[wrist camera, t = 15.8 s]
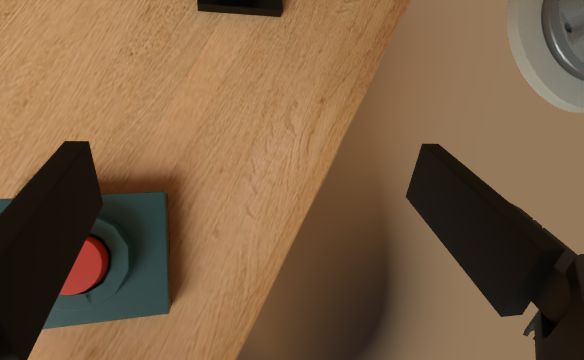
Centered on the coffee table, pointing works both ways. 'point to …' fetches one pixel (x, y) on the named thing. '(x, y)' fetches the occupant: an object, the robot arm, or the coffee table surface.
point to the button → (87, 267)
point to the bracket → (243, 7)
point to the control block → (123, 263)
